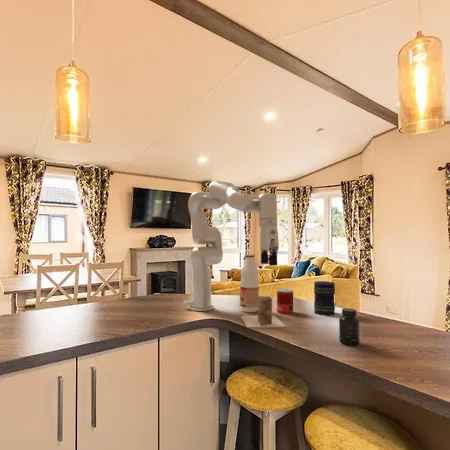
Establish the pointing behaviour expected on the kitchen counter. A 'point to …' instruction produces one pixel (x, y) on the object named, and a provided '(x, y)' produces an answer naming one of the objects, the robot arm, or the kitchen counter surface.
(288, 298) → the canned food
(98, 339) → the kitchen counter surface
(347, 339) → the supplement bottle
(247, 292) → the fruit juice
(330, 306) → the storage jar
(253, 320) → the mat
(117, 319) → the kitchen counter surface
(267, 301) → the block
